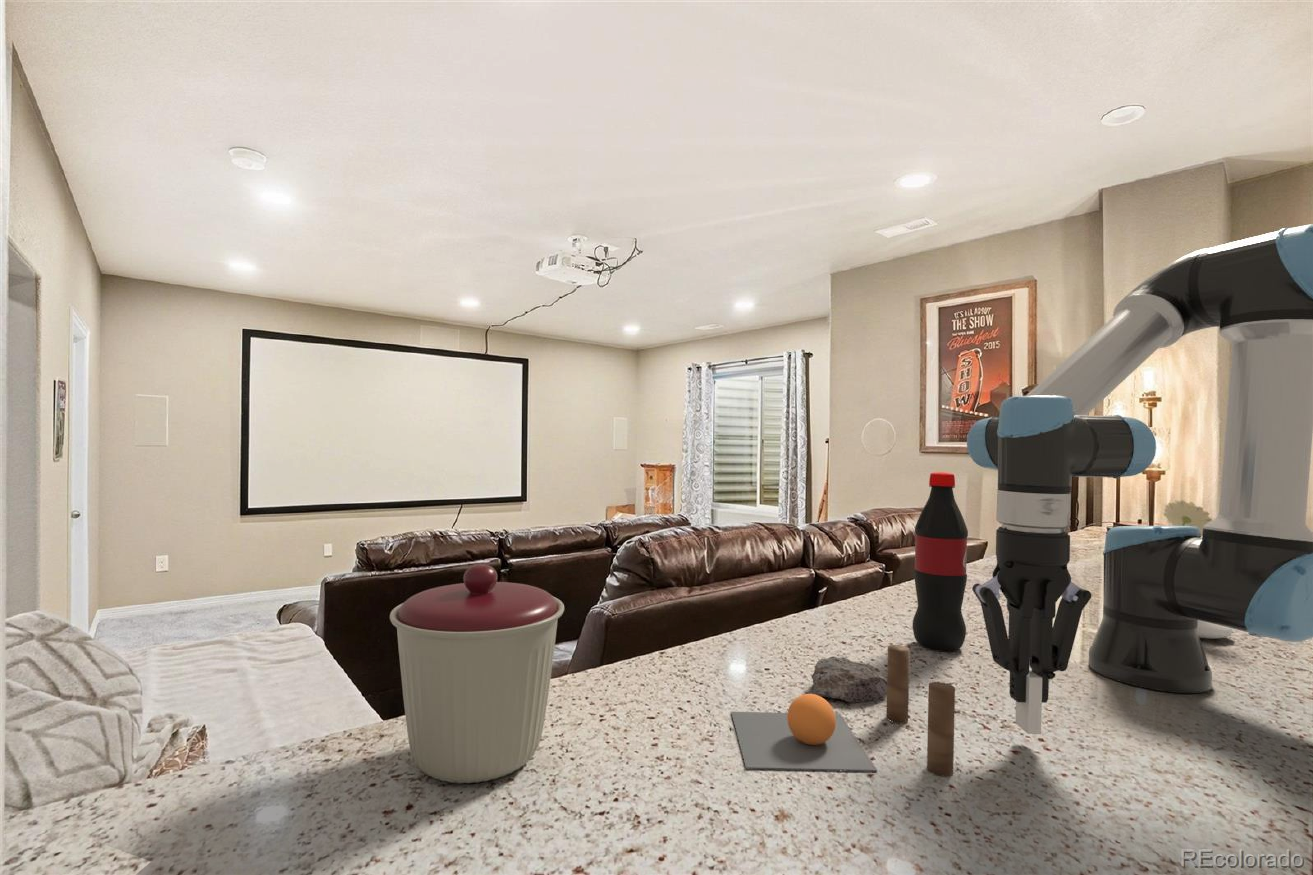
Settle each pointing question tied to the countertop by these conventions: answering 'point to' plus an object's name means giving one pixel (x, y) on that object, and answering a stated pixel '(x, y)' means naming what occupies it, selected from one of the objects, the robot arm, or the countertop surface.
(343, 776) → the countertop surface
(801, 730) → the ball
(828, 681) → the rock
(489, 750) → the canister
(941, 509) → the cola bottle
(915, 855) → the countertop surface
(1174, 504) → the flower in vase
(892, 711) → the post
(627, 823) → the countertop surface
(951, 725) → the post
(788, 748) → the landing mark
